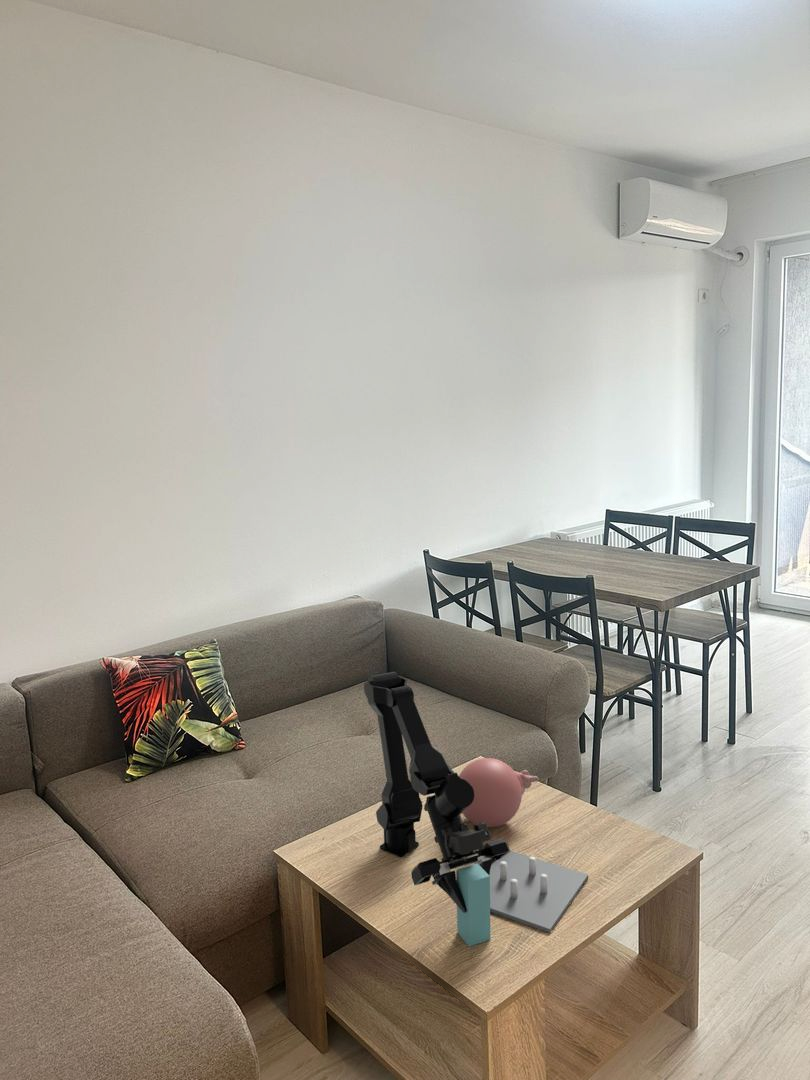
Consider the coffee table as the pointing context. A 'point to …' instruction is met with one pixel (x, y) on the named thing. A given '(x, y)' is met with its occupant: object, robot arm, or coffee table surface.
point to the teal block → (474, 904)
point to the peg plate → (532, 890)
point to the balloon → (494, 791)
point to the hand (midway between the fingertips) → (477, 908)
